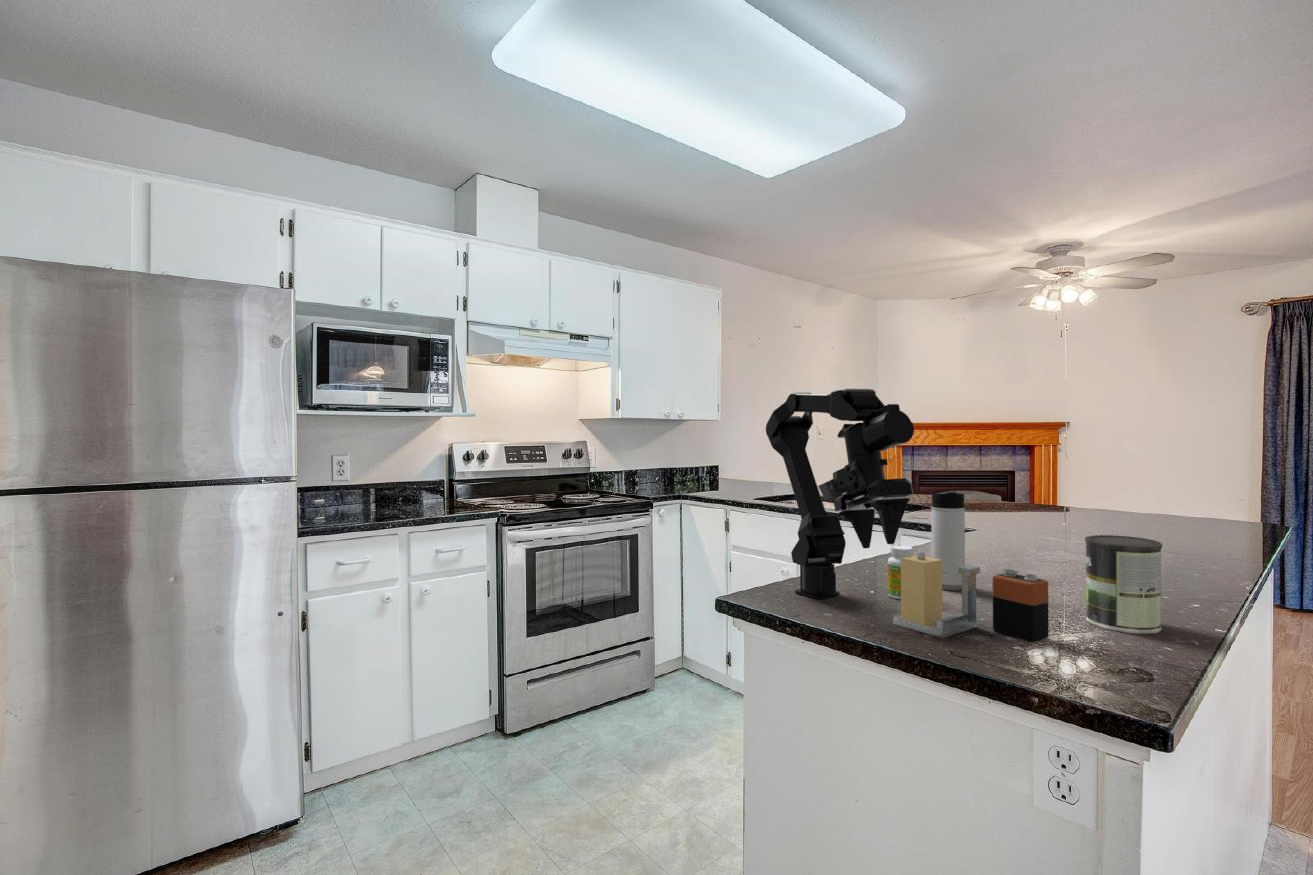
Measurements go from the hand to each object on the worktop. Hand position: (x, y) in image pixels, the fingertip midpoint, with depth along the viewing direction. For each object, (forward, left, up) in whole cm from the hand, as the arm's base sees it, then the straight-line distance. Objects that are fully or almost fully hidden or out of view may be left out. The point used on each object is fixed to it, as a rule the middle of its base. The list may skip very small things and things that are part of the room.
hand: (878, 546), depth 108 cm
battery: (+17, +12, -13) cm, 25 cm away
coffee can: (+24, +31, -13) cm, 42 cm away
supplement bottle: (-8, +17, -13) cm, 23 cm away
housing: (+6, +4, -12) cm, 14 cm away
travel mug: (-7, +31, -13) cm, 35 cm away
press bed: (+7, +6, -13) cm, 16 cm away
